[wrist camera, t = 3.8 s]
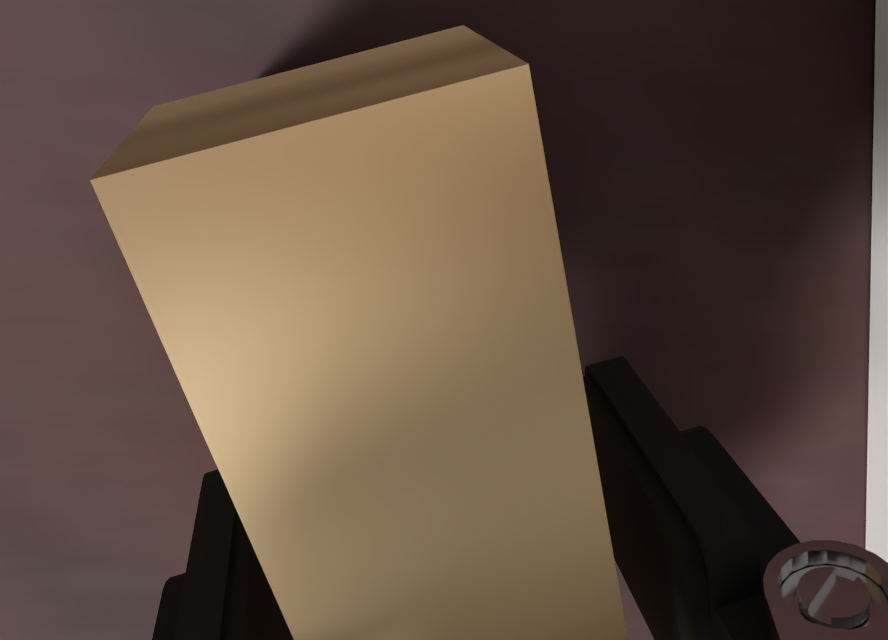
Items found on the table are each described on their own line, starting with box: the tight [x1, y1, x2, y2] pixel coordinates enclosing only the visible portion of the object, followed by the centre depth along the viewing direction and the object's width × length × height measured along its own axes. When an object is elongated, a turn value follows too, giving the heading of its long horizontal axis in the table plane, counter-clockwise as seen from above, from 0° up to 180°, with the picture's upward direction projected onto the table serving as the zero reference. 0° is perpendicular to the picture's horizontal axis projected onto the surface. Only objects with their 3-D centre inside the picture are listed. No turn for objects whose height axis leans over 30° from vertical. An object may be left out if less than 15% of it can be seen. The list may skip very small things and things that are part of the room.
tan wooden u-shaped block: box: [90, 25, 628, 640], centre depth 12 cm, size 13×3×8 cm, turn 13°
